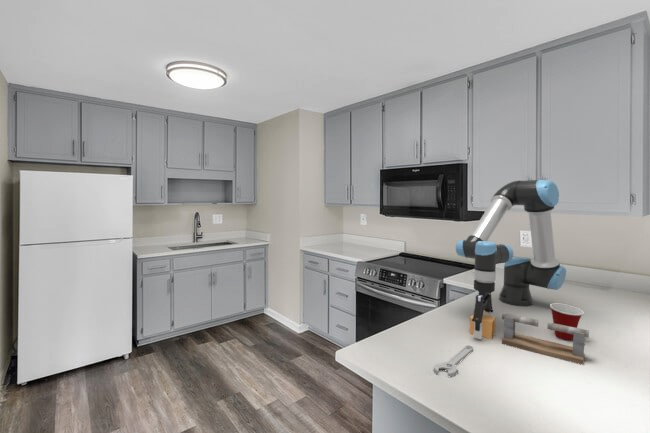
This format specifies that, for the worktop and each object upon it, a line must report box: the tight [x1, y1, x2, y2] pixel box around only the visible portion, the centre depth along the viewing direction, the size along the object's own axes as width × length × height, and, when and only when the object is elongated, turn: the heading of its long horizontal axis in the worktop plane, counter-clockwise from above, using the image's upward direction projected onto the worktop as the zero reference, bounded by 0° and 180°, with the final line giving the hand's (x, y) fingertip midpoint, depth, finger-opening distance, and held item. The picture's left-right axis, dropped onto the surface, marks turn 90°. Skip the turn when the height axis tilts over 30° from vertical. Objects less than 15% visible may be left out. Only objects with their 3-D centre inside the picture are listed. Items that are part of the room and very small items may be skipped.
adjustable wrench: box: [433, 345, 474, 377], centre depth 110 cm, size 25×6×2 cm, turn 132°
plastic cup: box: [549, 302, 585, 341], centre depth 129 cm, size 11×11×12 cm
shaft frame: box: [501, 312, 590, 365], centre depth 119 cm, size 10×26×10 cm, turn 51°
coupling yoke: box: [469, 313, 497, 340], centre depth 132 cm, size 6×8×7 cm
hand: (482, 332), depth 132 cm, fingers open, 13 cm apart
